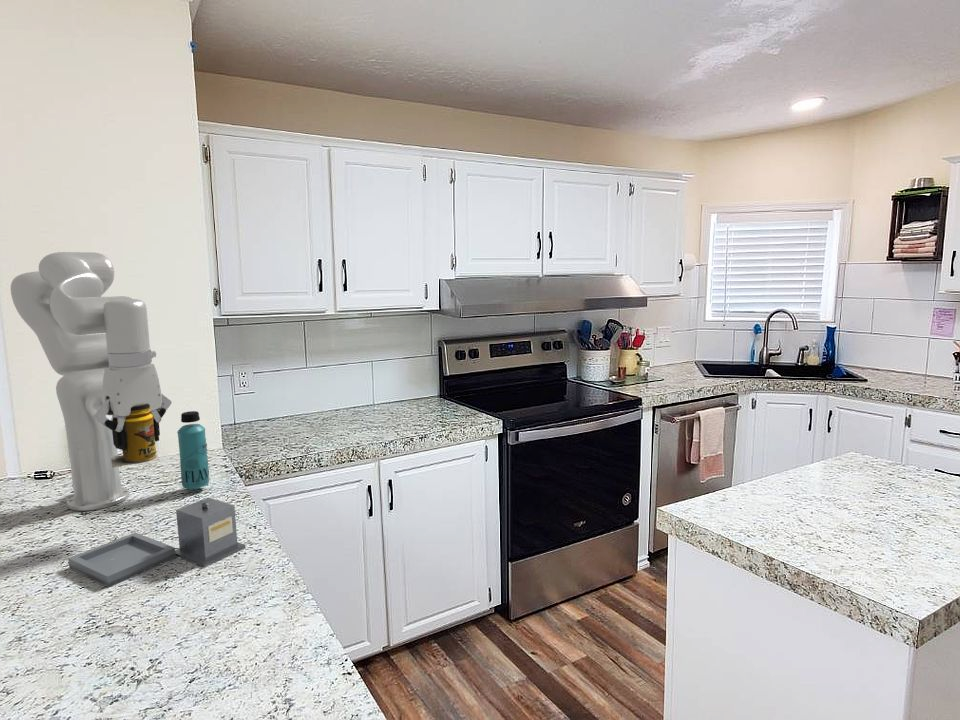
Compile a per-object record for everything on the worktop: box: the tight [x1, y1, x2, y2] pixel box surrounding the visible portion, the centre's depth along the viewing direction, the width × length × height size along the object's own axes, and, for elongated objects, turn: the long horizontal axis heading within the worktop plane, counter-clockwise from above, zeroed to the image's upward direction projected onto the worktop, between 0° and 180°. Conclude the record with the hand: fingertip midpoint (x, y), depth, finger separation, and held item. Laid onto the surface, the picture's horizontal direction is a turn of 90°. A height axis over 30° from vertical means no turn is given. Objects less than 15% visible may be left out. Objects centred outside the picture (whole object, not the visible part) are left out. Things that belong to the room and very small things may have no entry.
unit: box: [175, 497, 246, 568], centre depth 115 cm, size 10×9×10 cm
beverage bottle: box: [176, 410, 211, 490], centre depth 147 cm, size 6×7×20 cm
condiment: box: [111, 404, 160, 468], centre depth 123 cm, size 7×8×12 cm
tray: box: [67, 532, 177, 588], centre depth 112 cm, size 13×12×2 cm
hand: (137, 443), depth 124 cm, fingers closed on condiment, 6 cm apart
